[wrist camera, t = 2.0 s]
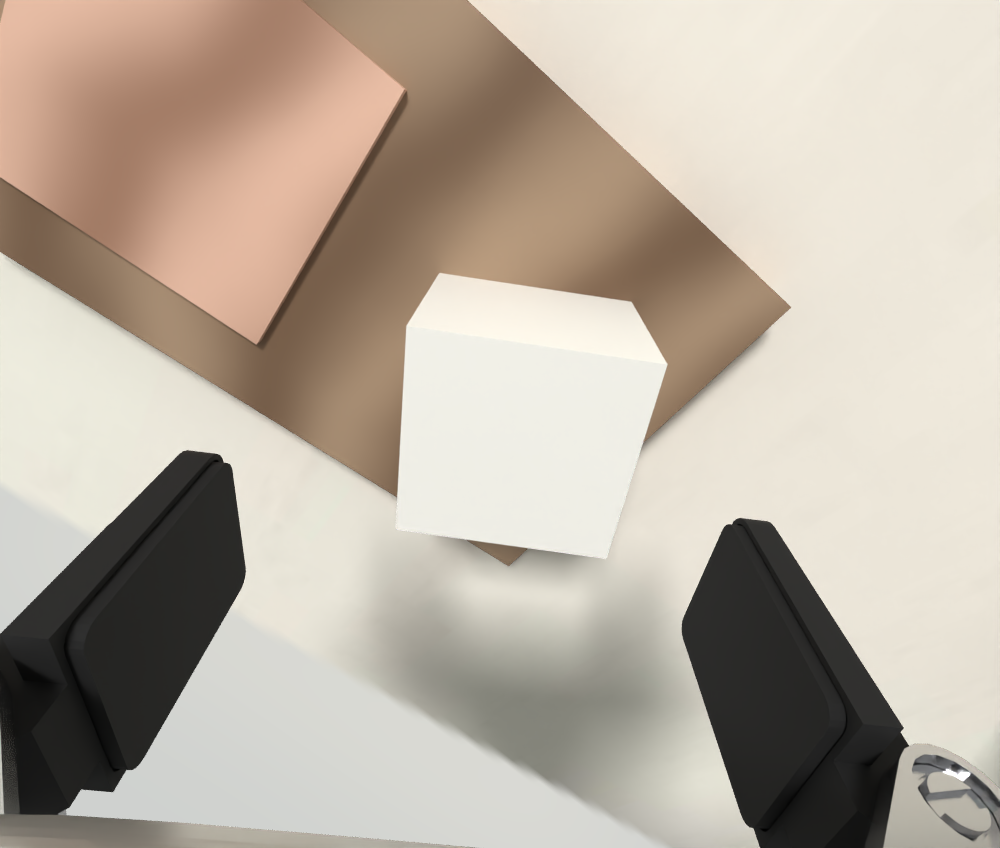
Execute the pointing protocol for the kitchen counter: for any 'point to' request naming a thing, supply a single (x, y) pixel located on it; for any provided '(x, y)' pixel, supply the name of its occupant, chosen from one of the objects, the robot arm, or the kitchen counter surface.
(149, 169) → the post board
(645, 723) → the kitchen counter surface
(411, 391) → the matte white cube
